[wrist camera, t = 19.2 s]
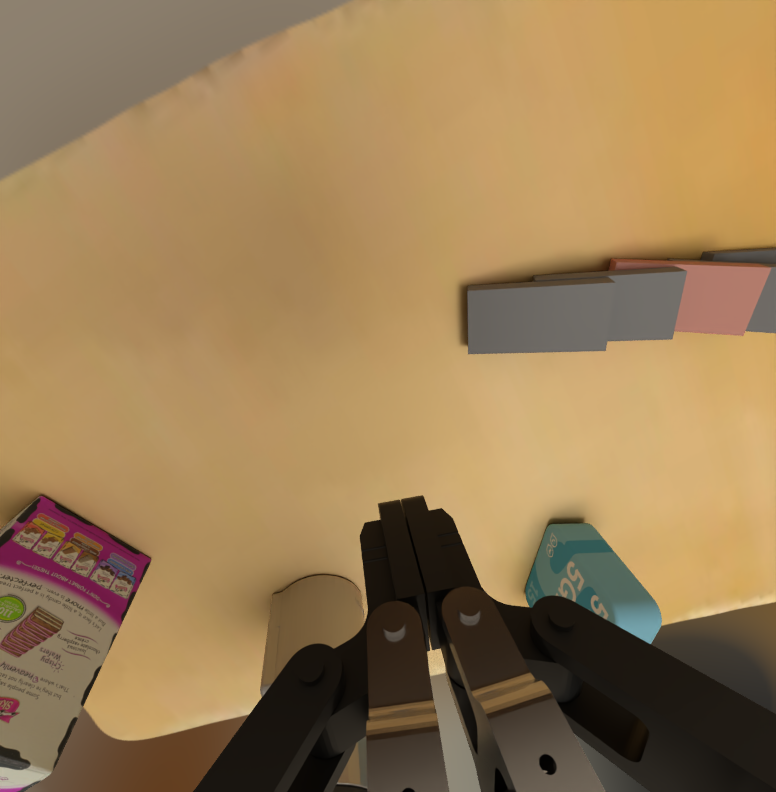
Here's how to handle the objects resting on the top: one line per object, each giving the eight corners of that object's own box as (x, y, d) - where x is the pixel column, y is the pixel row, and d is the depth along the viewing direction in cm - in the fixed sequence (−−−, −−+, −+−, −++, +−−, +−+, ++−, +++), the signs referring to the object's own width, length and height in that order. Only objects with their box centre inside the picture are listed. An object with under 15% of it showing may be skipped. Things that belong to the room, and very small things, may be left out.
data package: (549, 517, 44) (622, 619, 33) (586, 516, 45) (669, 615, 34) (522, 594, 49) (577, 703, 38) (555, 592, 50) (619, 699, 39)
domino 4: (695, 315, 34) (798, 307, 36) (714, 253, 32) (823, 247, 33) (678, 310, 36) (777, 302, 37) (696, 251, 34) (800, 245, 35)
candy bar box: (4, 524, 35) (-228, 760, 20) (41, 491, 34) (-171, 713, 19) (119, 586, 39) (0, 813, 25) (155, 558, 39) (53, 777, 24)
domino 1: (468, 354, 32) (605, 350, 30) (467, 290, 30) (615, 282, 28) (468, 346, 34) (599, 342, 32) (468, 285, 32) (608, 277, 29)
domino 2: (532, 343, 33) (672, 339, 30) (535, 280, 30) (687, 271, 28) (529, 336, 34) (662, 331, 32) (532, 275, 32) (676, 266, 30)
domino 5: (656, 324, 33) (790, 334, 32) (678, 262, 31) (822, 269, 30) (647, 318, 35) (774, 327, 34) (667, 258, 33) (804, 265, 32)
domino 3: (601, 326, 33) (743, 335, 31) (617, 262, 31) (771, 267, 28) (596, 320, 34) (731, 328, 32) (611, 258, 32) (757, 263, 30)
